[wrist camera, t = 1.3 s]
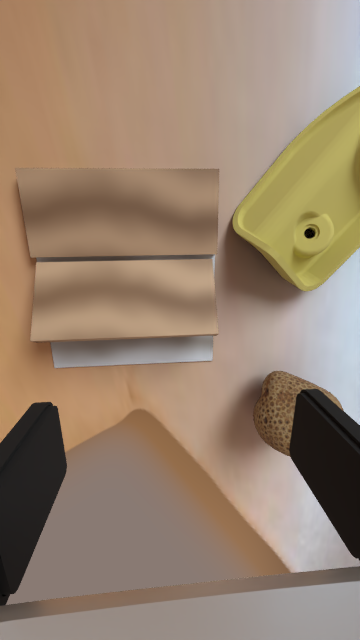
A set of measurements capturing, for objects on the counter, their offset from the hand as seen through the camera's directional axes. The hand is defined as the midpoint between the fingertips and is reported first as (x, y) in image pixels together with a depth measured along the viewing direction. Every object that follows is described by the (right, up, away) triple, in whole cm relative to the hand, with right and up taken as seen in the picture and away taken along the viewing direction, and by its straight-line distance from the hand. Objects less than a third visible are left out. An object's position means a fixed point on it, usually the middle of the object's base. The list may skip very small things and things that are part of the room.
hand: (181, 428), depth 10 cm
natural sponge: (+13, -5, +24) cm, 28 cm away
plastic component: (+16, +18, +18) cm, 30 cm away
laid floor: (-6, +9, +18) cm, 21 cm away
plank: (-5, +6, +17) cm, 19 cm away
